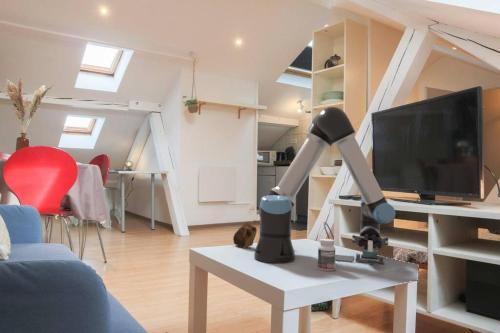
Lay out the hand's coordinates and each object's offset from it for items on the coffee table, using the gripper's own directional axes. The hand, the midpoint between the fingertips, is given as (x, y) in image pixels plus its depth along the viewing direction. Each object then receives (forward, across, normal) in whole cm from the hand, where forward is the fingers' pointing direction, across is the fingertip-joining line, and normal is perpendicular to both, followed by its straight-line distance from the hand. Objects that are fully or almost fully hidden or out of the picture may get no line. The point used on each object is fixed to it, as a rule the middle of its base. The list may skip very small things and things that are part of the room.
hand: (370, 247), depth 122 cm
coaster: (-21, +11, -9) cm, 25 cm away
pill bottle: (-1, +14, -9) cm, 17 cm away
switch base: (-19, 0, -9) cm, 20 cm away
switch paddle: (-19, 0, -7) cm, 20 cm away
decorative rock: (-27, +52, -9) cm, 59 cm away
